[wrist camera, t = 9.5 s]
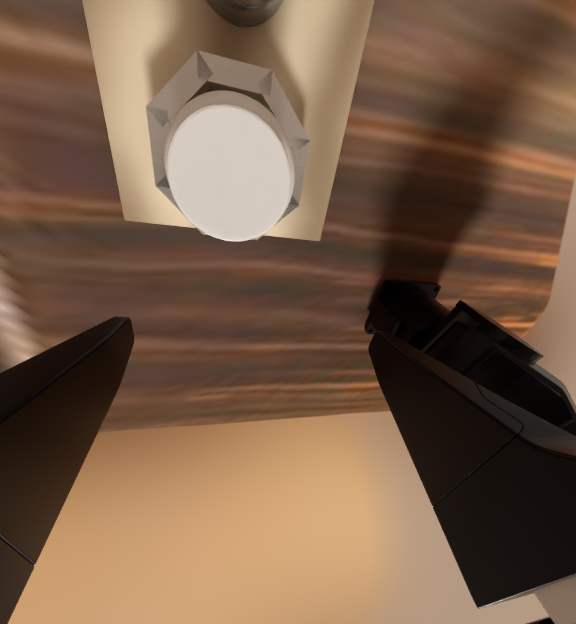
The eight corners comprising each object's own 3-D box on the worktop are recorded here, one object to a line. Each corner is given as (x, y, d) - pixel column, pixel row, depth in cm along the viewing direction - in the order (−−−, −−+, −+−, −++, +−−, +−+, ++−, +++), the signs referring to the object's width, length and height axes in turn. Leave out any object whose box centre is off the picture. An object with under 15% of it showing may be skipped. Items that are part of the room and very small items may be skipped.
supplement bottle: (191, 202, 17) (149, 252, 9) (188, 101, 14) (123, 37, 6) (269, 214, 18) (295, 267, 10) (281, 124, 15) (331, 97, 7)
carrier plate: (394, -121, 12) (406, -141, 11) (316, 237, 21) (319, 241, 20) (36, -302, 8) (15, -350, 8) (129, 216, 17) (124, 220, 17)
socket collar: (310, 89, 14) (319, 82, 13) (287, 235, 19) (292, 243, 17) (149, 48, 12) (136, 33, 11) (167, 222, 17) (160, 230, 15)
